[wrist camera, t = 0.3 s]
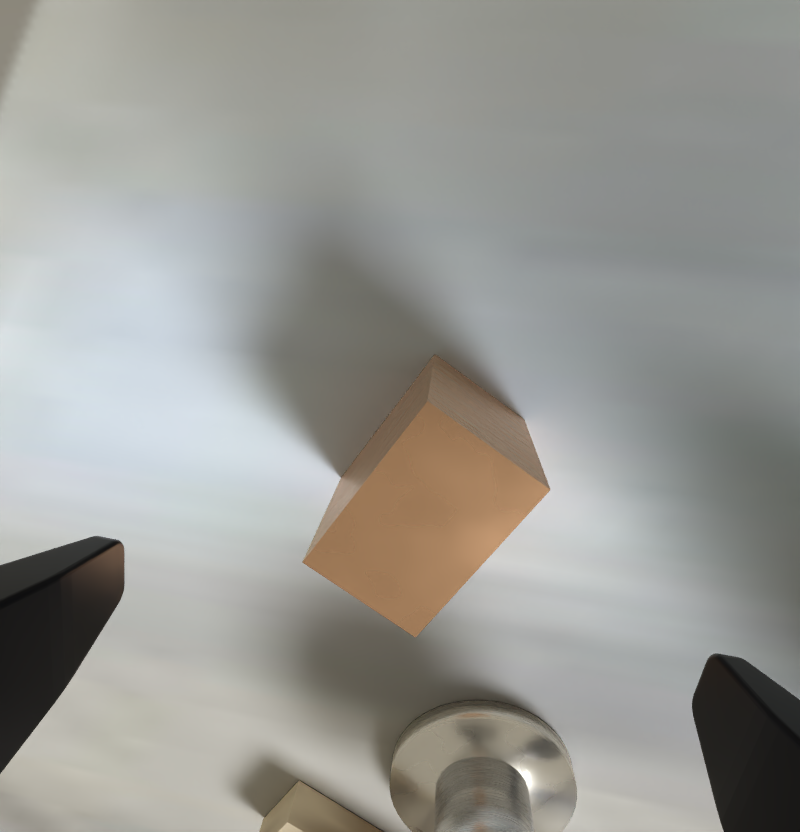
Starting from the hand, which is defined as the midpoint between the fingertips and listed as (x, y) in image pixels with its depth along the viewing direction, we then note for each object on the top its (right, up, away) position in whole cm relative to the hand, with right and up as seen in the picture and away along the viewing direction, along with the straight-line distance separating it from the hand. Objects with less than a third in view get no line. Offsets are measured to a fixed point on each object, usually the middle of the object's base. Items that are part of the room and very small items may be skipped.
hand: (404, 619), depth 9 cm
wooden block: (+1, +2, +13) cm, 13 cm away
